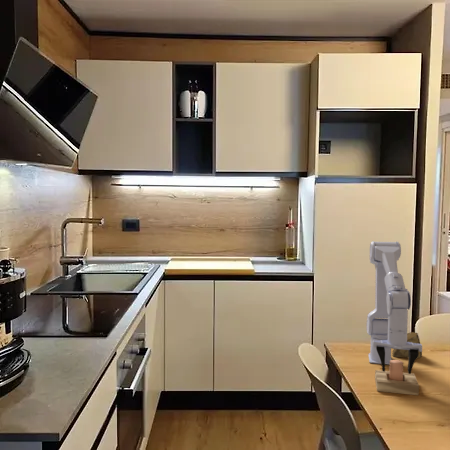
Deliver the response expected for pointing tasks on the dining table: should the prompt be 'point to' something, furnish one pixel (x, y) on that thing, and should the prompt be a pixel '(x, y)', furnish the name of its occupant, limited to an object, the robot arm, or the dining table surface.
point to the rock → (412, 338)
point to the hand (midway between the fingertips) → (396, 371)
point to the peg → (396, 370)
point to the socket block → (396, 383)
